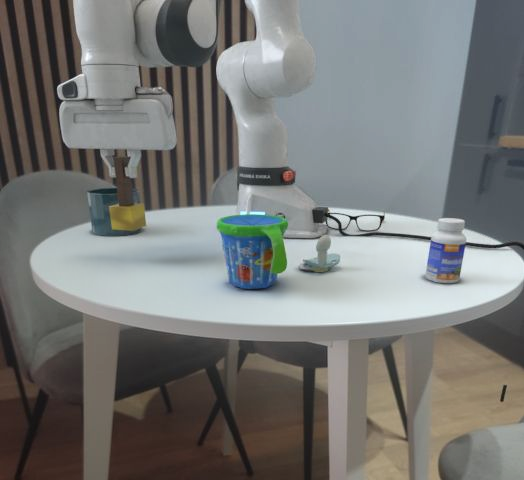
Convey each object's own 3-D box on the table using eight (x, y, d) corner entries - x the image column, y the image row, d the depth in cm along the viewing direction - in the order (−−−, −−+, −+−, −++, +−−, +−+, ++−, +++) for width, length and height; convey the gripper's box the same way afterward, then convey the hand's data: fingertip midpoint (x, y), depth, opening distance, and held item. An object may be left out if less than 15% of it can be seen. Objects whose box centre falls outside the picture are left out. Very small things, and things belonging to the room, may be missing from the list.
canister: (151, 228, 119) (147, 189, 115) (125, 237, 109) (120, 195, 106) (110, 224, 122) (106, 186, 118) (82, 233, 112) (76, 192, 109)
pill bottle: (440, 285, 80) (450, 224, 75) (418, 276, 84) (426, 218, 80) (466, 281, 82) (477, 221, 77) (443, 273, 86) (452, 216, 82)
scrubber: (146, 226, 91) (139, 156, 86) (133, 230, 87) (125, 158, 82) (125, 224, 92) (117, 155, 87) (111, 229, 88) (102, 157, 83)
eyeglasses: (322, 229, 119) (323, 212, 117) (328, 219, 132) (329, 203, 130) (382, 233, 116) (384, 215, 114) (383, 221, 129) (385, 206, 127)
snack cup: (204, 274, 84) (202, 213, 80) (260, 267, 88) (261, 209, 84) (242, 303, 71) (241, 231, 67) (305, 293, 75) (308, 225, 71)
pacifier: (290, 269, 88) (315, 276, 83) (291, 234, 85) (316, 238, 81) (319, 263, 92) (344, 268, 88) (320, 228, 90) (346, 233, 85)
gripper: (179, 87, 80) (185, 177, 86) (72, 89, 86) (85, 173, 92) (160, 85, 74) (168, 181, 80) (47, 87, 80) (63, 177, 86)
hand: (123, 177), depth 86 cm, fingers closed on scrubber, 2 cm apart
